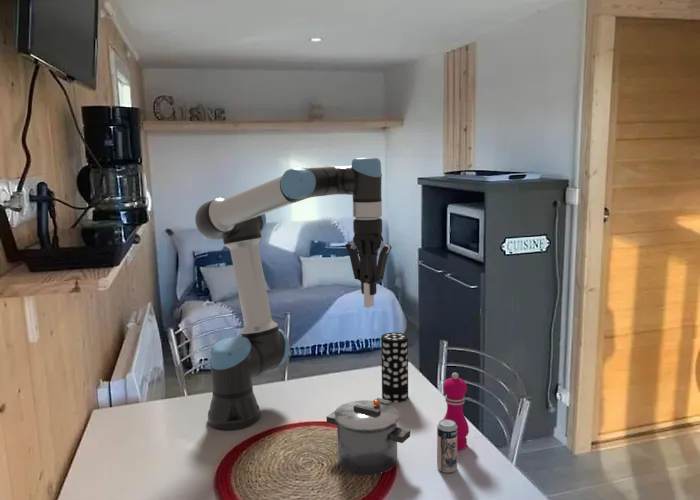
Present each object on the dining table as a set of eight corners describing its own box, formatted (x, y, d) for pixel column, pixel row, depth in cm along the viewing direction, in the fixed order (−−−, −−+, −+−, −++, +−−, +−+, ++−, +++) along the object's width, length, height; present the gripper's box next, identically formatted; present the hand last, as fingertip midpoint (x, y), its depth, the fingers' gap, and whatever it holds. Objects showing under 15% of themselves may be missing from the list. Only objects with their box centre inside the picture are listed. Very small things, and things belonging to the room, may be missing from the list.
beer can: (444, 476, 138) (444, 429, 136) (433, 466, 142) (433, 420, 140) (460, 471, 140) (461, 424, 138) (449, 462, 144) (450, 416, 142)
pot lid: (322, 421, 142) (322, 410, 141) (358, 399, 156) (358, 389, 156) (378, 437, 133) (378, 425, 133) (411, 412, 147) (411, 401, 147)
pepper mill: (468, 452, 148) (469, 378, 145) (440, 450, 150) (440, 377, 146) (468, 439, 155) (469, 368, 152) (441, 437, 157) (441, 367, 153)
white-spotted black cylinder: (409, 402, 179) (409, 340, 176) (382, 402, 179) (381, 341, 176) (407, 391, 187) (406, 332, 184) (381, 392, 187) (380, 332, 184)
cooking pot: (315, 461, 146) (313, 420, 144) (347, 436, 158) (346, 398, 156) (391, 486, 134) (391, 442, 132) (420, 457, 146) (419, 416, 145)
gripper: (396, 217, 149) (397, 306, 153) (354, 215, 156) (355, 300, 160) (382, 220, 143) (383, 312, 147) (338, 218, 150) (340, 306, 154)
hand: (369, 306), depth 153 cm, fingers closed
